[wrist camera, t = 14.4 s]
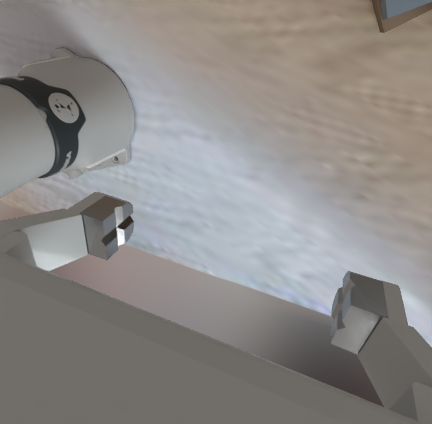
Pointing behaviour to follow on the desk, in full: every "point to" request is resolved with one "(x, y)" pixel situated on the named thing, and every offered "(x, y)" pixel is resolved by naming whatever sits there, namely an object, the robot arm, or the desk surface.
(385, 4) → the slate-grey upper block
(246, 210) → the desk surface
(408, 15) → the walnut base block
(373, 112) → the desk surface
